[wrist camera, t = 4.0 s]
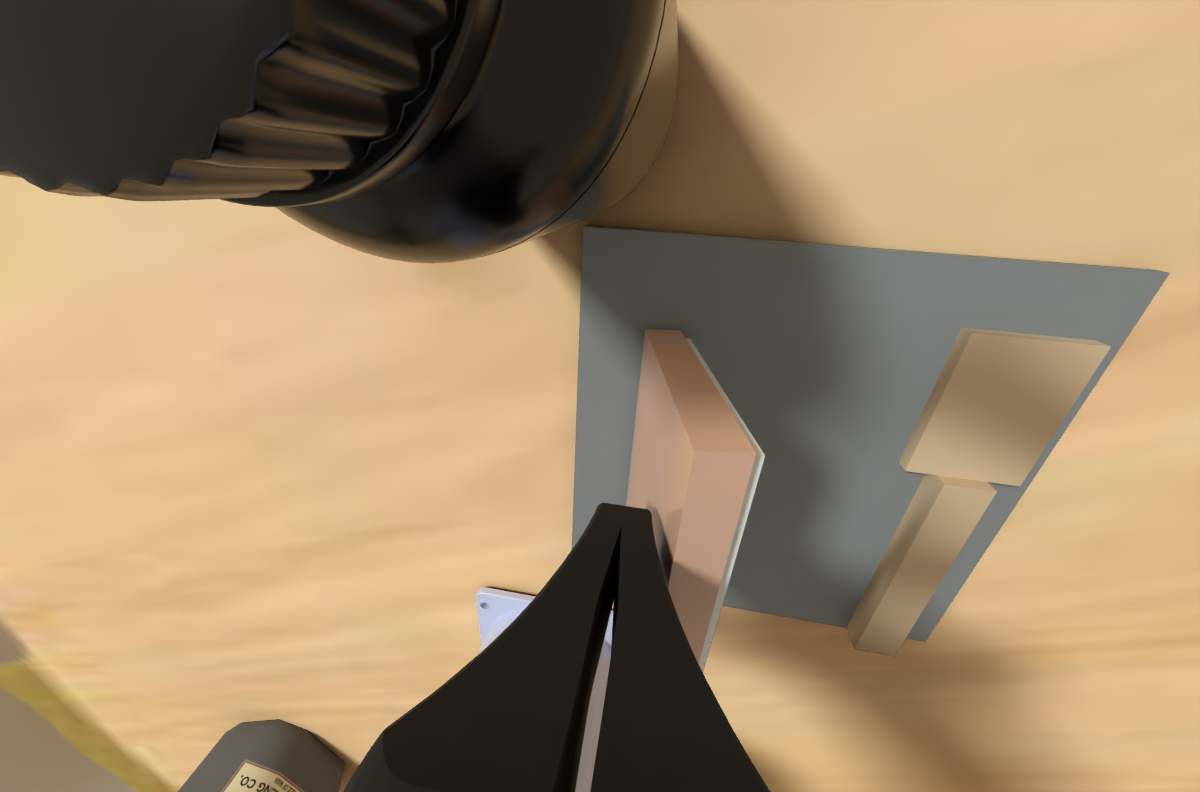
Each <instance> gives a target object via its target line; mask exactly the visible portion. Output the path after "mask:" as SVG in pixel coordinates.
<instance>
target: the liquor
mask: <svg viewBox="0 0 1200 792" xmlns="http://www.w3.org/2000/svg"><path fill="white" fill-rule="evenodd" d="M343 764H344V762H343V761H342V760H341V759H340V758H339V757H338V756H336V755H335V754H334V753H333V752H332V751H331V750H329V749H328V748H327V747H326V746H325V745H324V744H322V743H321V742H320V741H319V740H318V739H317V738H315V737H314V736H313V735H312V734H311V733H310V732H308V731H307V730H305V729H302V728H299V727H297V726H294V725H292V724H289V723H286V722H284V721H281V720H267V721H256V722H245V723H240V724H239V725H237V726H236V727H234V728H232V729H231V730H229V731H228V732H226V733H225V734H224V735H223V737H222V738H221V739H220V740H219V742H218V743H217V744H216V745H215V747H214V748H213V749H212V750H211V751H210V753H209V754H208V755H207V756H206V758H205V759H204V760H203V761H202V763H201V764H200V765H199V766H198V767H197V769H196V770H195V771H194V772H193V774H192V775H191V776H190V777H189V779H188V780H187V781H186V782H185V783H184V785H183V786H182V787H181V788H180V790H179V791H178V792H338V791H339V789H340V784H341V777H342V771H343Z"/></svg>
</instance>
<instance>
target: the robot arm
mask: <svg viewBox="0 0 1200 792" xmlns="http://www.w3.org/2000/svg"><path fill="white" fill-rule="evenodd" d="M613 601H614V608H613V611H612V610H611V609H612V605H613ZM476 604H477V613H478V621H479V629H480V638H481V646H482V647H481V649H480V652H479V654H478V656H476V657H475V658H474V659H473V660H472V661H471V662H469V663H468V664H467V665H466V666H465V667H463V668H462V669H461V670H460V671H459V672H458V673H456V674H455V675H454V676H453V677H452V678H451V679H449V680H448V681H447V682H446V683H445V684H444V685H442V686H441V687H440V688H439V689H437V690H436V691H435V692H434V693H432V694H431V695H430V696H428V697H427V698H426V699H424V700H423V701H422V702H420V703H419V704H418V705H416V706H415V707H414V708H412V709H411V710H410V711H408V712H407V713H406V714H404V715H403V716H402V717H400V718H399V719H398V720H396V721H395V722H394V723H392V724H391V725H390V726H388V727H387V728H386V729H385V730H384V731H383V732H382V733H381V735H380V736H379V737H378V739H377V740H376V741H375V743H374V744H373V746H372V747H371V749H370V750H369V751H368V753H367V754H366V756H365V757H364V759H363V761H362V762H361V764H360V765H359V767H358V768H357V769H356V771H355V773H354V774H353V776H352V778H351V779H350V781H349V783H348V784H347V786H346V788H345V790H344V792H770V791H769V789H768V787H767V786H766V784H765V783H764V781H763V779H762V778H761V776H760V775H759V773H758V771H757V770H756V768H755V767H754V765H753V763H752V762H751V760H750V758H749V757H748V755H747V753H746V751H745V750H744V748H743V746H742V745H741V743H740V741H739V740H738V738H737V736H736V734H735V733H734V731H733V729H732V728H731V726H730V724H729V722H728V720H727V718H726V716H725V714H724V713H723V711H722V709H721V707H720V705H719V703H718V701H717V699H716V698H715V696H714V694H713V692H712V690H711V688H710V686H709V684H708V683H707V681H706V679H705V676H704V674H703V672H702V670H701V668H700V666H699V664H698V662H697V660H696V658H695V655H694V653H693V651H692V649H691V646H690V644H689V642H688V640H687V637H686V635H685V633H684V630H683V628H682V625H681V623H680V620H679V618H678V615H677V612H676V610H675V607H674V604H673V601H672V599H671V596H670V593H669V590H668V587H667V584H666V580H665V577H664V574H663V570H662V567H661V563H660V560H659V556H658V552H657V547H656V543H655V538H654V532H653V525H652V513H651V512H650V511H649V510H648V509H642V508H636V507H629V506H623V505H616V504H609V503H603V502H602V503H601V504H599V505H598V506H597V509H596V511H595V513H594V515H593V517H592V519H591V521H590V522H589V524H588V526H587V528H586V529H585V531H584V532H583V534H582V536H581V537H580V539H579V540H578V542H577V543H576V545H575V546H574V548H573V549H572V551H571V552H570V554H569V555H568V556H567V558H566V559H565V561H564V562H563V563H562V565H561V566H560V567H559V569H558V570H557V571H556V572H555V574H554V575H553V576H552V577H551V579H550V580H549V581H548V583H547V584H546V585H545V586H544V588H543V589H542V590H541V591H540V592H539V593H538V595H537V596H530V595H525V594H520V593H514V592H509V591H503V590H498V589H493V588H487V587H483V588H480V589H479V590H478V592H477V594H476Z"/></svg>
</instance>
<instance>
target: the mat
mask: <svg viewBox="0 0 1200 792" xmlns="http://www.w3.org/2000/svg"><path fill="white" fill-rule="evenodd" d="M1168 275H1169V273H1168V272H1163V271H1158V270H1149V269H1136V268H1124V267H1111V266H1098V265H1085V264H1072V263H1060V262H1047V261H1034V260H1021V259H1009V258H996V257H983V256H970V255H957V254H945V253H932V252H919V251H906V250H894V249H881V248H868V247H855V246H842V245H830V244H817V243H804V242H791V241H778V240H766V239H753V238H740V237H727V236H715V235H702V234H689V233H676V232H663V231H651V230H638V229H625V228H612V227H600V226H587V225H585V226H583V240H582V269H581V298H580V328H579V357H578V386H577V415H576V444H575V473H574V502H573V531H572V549H573V548H574V546H575V545H576V543H577V542H578V540H579V539H580V537H581V536H582V534H583V532H584V531H585V529H586V528H587V526H588V524H589V522H590V521H591V519H592V517H593V515H594V513H595V511H596V509H597V506H598V505H599V504H601V503H602V502H603V503H609V504H616V505H623V506H626V501H627V492H628V483H629V474H630V464H631V455H632V446H633V437H634V428H635V419H636V409H637V400H638V391H639V382H640V373H641V364H642V354H643V345H644V336H645V329H658V330H681V331H682V333H683V335H684V336H685V338H690V339H691V341H692V342H693V344H694V345H695V347H696V348H697V350H698V352H699V353H700V355H701V356H702V358H703V359H704V361H705V363H706V364H707V366H708V367H709V369H710V370H711V372H712V373H713V375H714V377H715V378H716V380H717V381H718V383H719V384H720V386H721V388H722V389H723V391H724V392H725V394H726V395H727V397H728V398H729V400H730V402H731V403H732V405H733V406H734V408H735V409H736V411H737V413H738V414H739V416H740V417H741V419H742V420H743V422H744V423H745V425H746V427H747V428H748V430H749V431H750V433H751V434H752V436H753V437H754V439H755V441H756V442H757V444H758V445H759V447H760V448H761V450H762V452H763V453H764V455H765V458H764V462H763V465H762V469H761V472H760V476H759V479H758V483H757V486H756V490H755V493H754V496H753V500H752V503H751V507H750V510H749V514H748V517H747V521H746V524H745V528H744V531H743V535H742V538H741V542H740V545H739V549H738V552H737V556H736V559H735V563H734V566H733V570H732V573H731V577H730V580H729V584H728V587H727V591H726V594H725V598H724V601H723V605H722V606H727V607H733V608H738V609H744V610H750V611H755V612H761V613H767V614H772V615H778V616H783V617H789V618H795V619H800V620H806V621H812V622H817V623H823V624H829V625H834V626H840V627H845V628H847V626H848V624H849V622H850V620H851V618H852V616H853V614H854V612H855V610H856V608H857V606H858V604H859V602H860V601H861V599H862V597H863V595H864V593H865V591H866V589H867V587H868V585H869V583H870V581H871V579H872V577H873V575H874V573H875V571H876V569H877V567H878V565H879V563H880V561H881V559H882V558H883V556H884V554H885V552H886V550H887V548H888V546H889V544H890V542H891V540H892V538H893V536H894V534H895V532H896V530H897V528H898V526H899V524H900V522H901V520H902V518H903V516H904V514H905V513H906V511H907V509H908V507H909V505H910V503H911V501H912V499H913V497H914V495H915V493H916V491H917V489H918V487H919V485H920V483H921V481H922V479H923V477H924V475H925V474H924V473H917V472H909V471H905V470H904V469H903V467H902V466H901V465H900V463H899V461H900V459H901V457H902V455H903V452H904V450H905V448H906V446H907V444H908V442H909V440H910V437H911V435H912V433H913V431H914V429H915V427H916V425H917V422H918V420H919V418H920V416H921V414H922V412H923V410H924V408H925V405H926V403H927V401H928V399H929V397H930V395H931V393H932V390H933V388H934V386H935V384H936V382H937V380H938V378H939V376H940V373H941V371H942V369H943V367H944V365H945V363H946V361H947V358H948V356H949V354H950V352H951V350H952V348H953V346H954V343H955V341H956V339H957V337H958V335H959V333H960V331H961V329H962V328H971V329H981V330H991V331H1002V332H1012V333H1022V334H1033V335H1043V336H1053V337H1064V338H1074V339H1084V340H1095V341H1098V342H1101V343H1103V344H1106V345H1108V346H1111V348H1110V349H1109V351H1108V352H1107V354H1106V356H1105V357H1104V359H1103V360H1102V362H1101V363H1100V365H1099V366H1098V368H1097V369H1096V371H1095V372H1094V374H1093V375H1092V377H1091V379H1090V380H1089V382H1088V383H1087V385H1086V386H1085V388H1084V389H1083V391H1082V392H1081V394H1080V395H1079V397H1078V398H1077V400H1076V402H1075V403H1074V405H1073V406H1072V408H1071V409H1070V411H1069V412H1068V414H1067V415H1066V417H1065V418H1064V420H1063V421H1062V423H1061V425H1060V426H1059V428H1058V429H1057V431H1056V432H1055V434H1054V435H1053V437H1052V438H1051V440H1050V441H1049V443H1048V445H1047V446H1046V448H1045V449H1044V451H1043V452H1042V454H1041V455H1040V457H1039V458H1038V460H1037V461H1036V463H1035V464H1034V466H1033V468H1032V469H1031V471H1030V472H1029V474H1028V475H1027V477H1026V478H1025V480H1024V481H1023V483H1022V484H1021V486H1013V485H1006V484H998V483H991V482H988V483H989V484H990V485H991V486H992V487H993V488H994V489H995V490H996V491H997V493H996V494H995V496H994V498H993V499H992V501H991V502H990V504H989V506H988V507H987V509H986V510H985V512H984V514H983V515H982V517H981V518H980V520H979V522H978V523H977V525H976V526H975V528H974V530H973V531H972V533H971V534H970V536H969V538H968V539H967V541H966V542H965V544H964V546H963V547H962V549H961V550H960V552H959V554H958V555H957V557H956V558H955V560H954V562H953V563H952V565H951V566H950V568H949V570H948V571H947V573H946V574H945V576H944V578H943V579H942V581H941V582H940V584H939V586H938V587H937V589H936V590H935V592H934V594H933V595H932V597H931V598H930V600H929V602H928V603H927V605H926V606H925V608H924V610H923V611H922V613H921V614H920V616H919V618H918V619H917V621H916V622H915V624H914V626H913V627H912V629H911V631H910V632H909V634H908V635H907V637H906V638H907V639H913V640H919V641H924V642H925V641H926V640H927V638H928V637H929V635H930V634H931V632H932V631H933V629H934V628H935V626H936V625H937V623H938V622H939V620H940V619H941V617H942V616H943V614H944V613H945V611H946V610H947V608H948V607H949V605H950V604H951V602H952V601H953V599H954V598H955V596H956V595H957V593H958V592H959V590H960V589H961V587H962V586H963V584H964V583H965V581H966V580H967V578H968V577H969V575H970V574H971V572H972V571H973V569H974V568H975V566H976V565H977V563H978V562H979V560H980V559H981V557H982V556H983V554H984V552H985V551H986V549H987V548H988V546H989V545H990V543H991V542H992V540H993V539H994V537H995V536H996V534H997V533H998V531H999V530H1000V528H1001V527H1002V525H1003V524H1004V522H1005V521H1006V519H1007V518H1008V516H1009V515H1010V513H1011V512H1012V510H1013V509H1014V507H1015V506H1016V504H1017V503H1018V501H1019V500H1020V498H1021V497H1022V495H1023V494H1024V492H1025V491H1026V489H1027V488H1028V486H1029V485H1030V483H1031V482H1032V480H1033V479H1034V477H1035V476H1036V474H1037V473H1038V471H1039V470H1040V468H1041V467H1042V465H1043V464H1044V462H1045V460H1046V459H1047V457H1048V456H1049V454H1050V453H1051V451H1052V450H1053V448H1054V447H1055V445H1056V444H1057V442H1058V441H1059V439H1060V438H1061V436H1062V435H1063V433H1064V432H1065V430H1066V429H1067V427H1068V426H1069V424H1070V423H1071V421H1072V420H1073V418H1074V417H1075V415H1076V414H1077V412H1078V411H1079V409H1080V408H1081V406H1082V405H1083V403H1084V402H1085V400H1086V399H1087V397H1088V396H1089V394H1090V393H1091V391H1092V390H1093V388H1094V387H1095V385H1096V384H1097V382H1098V381H1099V379H1100V378H1101V376H1102V375H1103V373H1104V372H1105V370H1106V368H1107V367H1108V365H1109V364H1110V362H1111V361H1112V359H1113V358H1114V356H1115V355H1116V353H1117V352H1118V350H1119V349H1120V347H1121V346H1122V344H1123V343H1124V341H1125V340H1126V338H1127V337H1128V335H1129V334H1130V332H1131V331H1132V329H1133V328H1134V326H1135V325H1136V323H1137V322H1138V320H1139V319H1140V317H1141V316H1142V314H1143V313H1144V311H1145V310H1146V308H1147V307H1148V305H1149V304H1150V302H1151V301H1152V299H1153V298H1154V296H1155V295H1156V293H1157V292H1158V290H1159V289H1160V287H1161V286H1162V284H1163V283H1164V281H1165V280H1166V278H1167V276H1168Z"/></svg>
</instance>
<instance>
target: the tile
mask: <svg viewBox="0 0 1200 792" xmlns="http://www.w3.org/2000/svg"><path fill="white" fill-rule="evenodd" d="M764 458H765V455H764V453H763V452H762V450H761V448H760V447H759V445H758V444H757V442H756V441H755V439H754V437H753V436H752V434H751V433H750V431H749V430H748V428H747V427H746V425H745V423H744V422H743V420H742V419H741V417H740V416H739V414H738V413H737V411H736V409H735V408H734V406H733V405H732V403H731V402H730V400H729V398H728V397H727V395H726V394H725V392H724V391H723V389H722V388H721V386H720V384H719V383H718V381H717V380H716V378H715V377H714V375H713V373H712V372H711V370H710V369H709V367H708V366H707V364H706V363H705V361H704V359H703V358H702V356H701V355H700V353H699V352H698V350H697V348H696V347H695V345H694V344H693V342H692V341H691V339H690V338H685V336H684V335H683V333H682V331H681V330H658V329H645V336H644V345H643V354H642V364H641V373H640V382H639V391H638V400H637V409H636V419H635V428H634V437H633V446H632V455H631V464H630V474H629V483H628V492H627V501H626V506H629V507H636V508H642V509H648V510H649V511H650V512H651V513H652V525H653V532H654V538H655V543H656V547H657V552H658V556H659V560H660V563H661V567H662V570H663V574H664V577H665V580H666V584H667V587H668V590H669V593H670V596H671V599H672V601H673V604H674V607H675V610H676V612H677V615H678V618H679V620H680V623H681V625H682V628H683V630H684V633H685V635H686V637H687V640H688V642H689V644H690V646H691V649H692V651H693V653H694V655H695V658H696V660H697V662H698V664H699V666H700V668H701V670H702V672H703V671H704V667H705V664H706V660H707V657H708V653H709V650H710V646H711V643H712V639H713V636H714V633H715V629H716V626H717V622H718V619H719V615H720V612H721V608H722V605H723V601H724V598H725V594H726V591H727V587H728V584H729V580H730V577H731V573H732V570H733V566H734V563H735V559H736V556H737V552H738V549H739V545H740V542H741V538H742V535H743V531H744V528H745V524H746V521H747V517H748V514H749V510H750V507H751V503H752V500H753V496H754V493H755V490H756V486H757V483H758V479H759V476H760V472H761V469H762V465H763V462H764Z"/></svg>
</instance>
